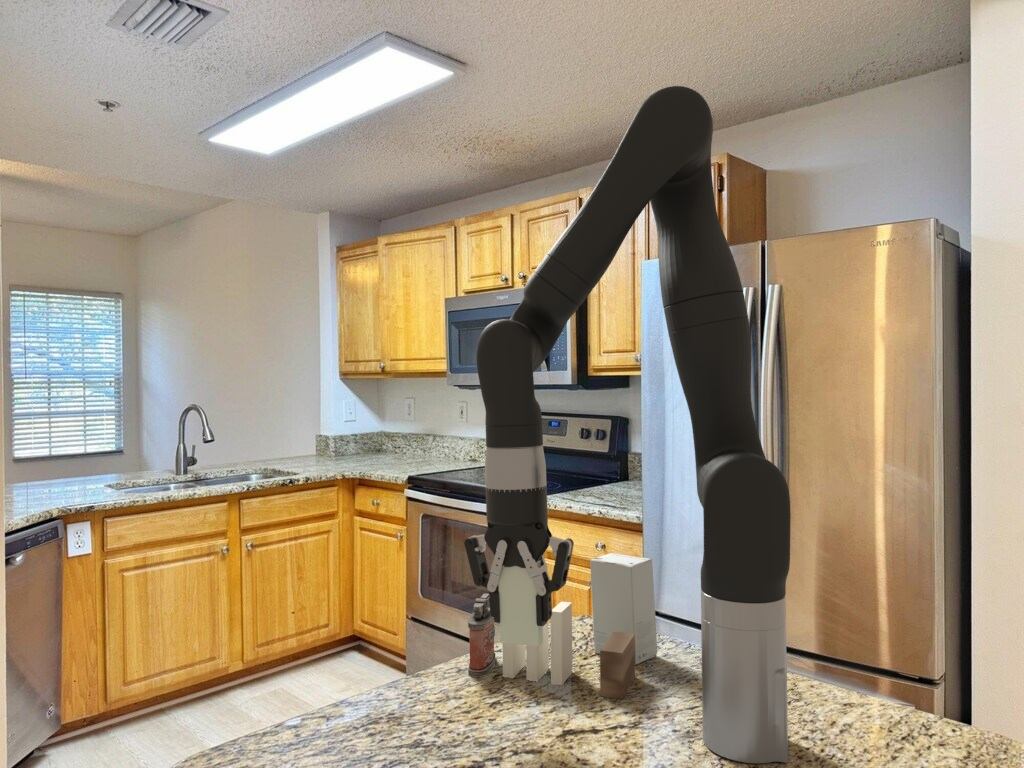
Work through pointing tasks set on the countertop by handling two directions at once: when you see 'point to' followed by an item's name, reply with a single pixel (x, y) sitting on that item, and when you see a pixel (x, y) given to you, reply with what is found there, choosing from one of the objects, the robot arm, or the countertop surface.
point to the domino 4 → (561, 643)
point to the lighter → (481, 638)
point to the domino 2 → (513, 659)
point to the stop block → (617, 665)
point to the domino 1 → (518, 608)
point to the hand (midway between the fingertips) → (520, 621)
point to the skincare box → (624, 602)
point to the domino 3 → (538, 658)
